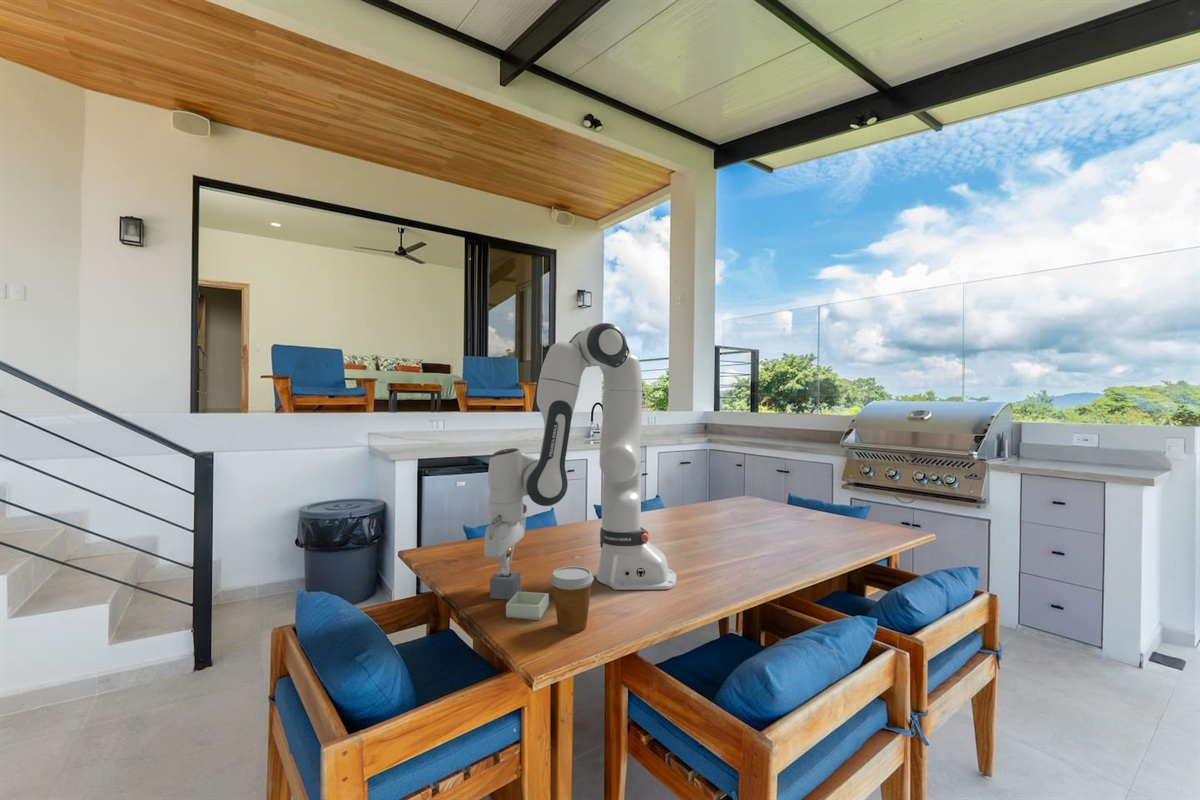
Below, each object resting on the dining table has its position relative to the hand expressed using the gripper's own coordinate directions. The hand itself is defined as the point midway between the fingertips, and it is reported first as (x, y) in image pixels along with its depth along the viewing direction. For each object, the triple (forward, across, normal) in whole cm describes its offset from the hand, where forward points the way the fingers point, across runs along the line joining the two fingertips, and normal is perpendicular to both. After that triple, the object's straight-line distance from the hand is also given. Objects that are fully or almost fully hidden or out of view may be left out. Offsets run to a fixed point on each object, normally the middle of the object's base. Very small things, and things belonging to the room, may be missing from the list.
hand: (505, 565), depth 129 cm
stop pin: (+8, 0, 0) cm, 8 cm away
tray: (+8, -9, -9) cm, 15 cm away
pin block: (+8, 0, 0) cm, 8 cm away
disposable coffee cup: (+8, -15, -21) cm, 27 cm away
